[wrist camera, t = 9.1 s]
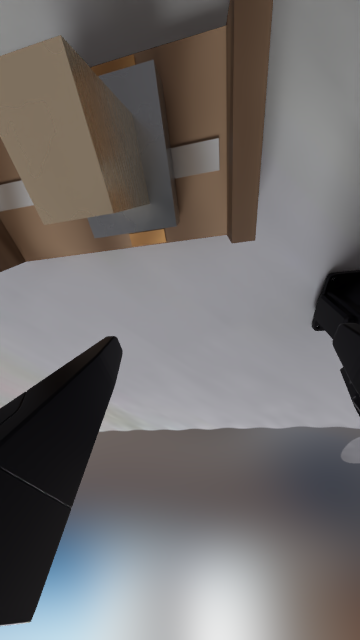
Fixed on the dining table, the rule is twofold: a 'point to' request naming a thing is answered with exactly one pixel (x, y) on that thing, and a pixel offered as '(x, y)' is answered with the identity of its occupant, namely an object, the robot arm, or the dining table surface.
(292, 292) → the dining table surface
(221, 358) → the dining table surface
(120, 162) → the handle
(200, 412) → the dining table surface
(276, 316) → the dining table surface
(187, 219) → the base
